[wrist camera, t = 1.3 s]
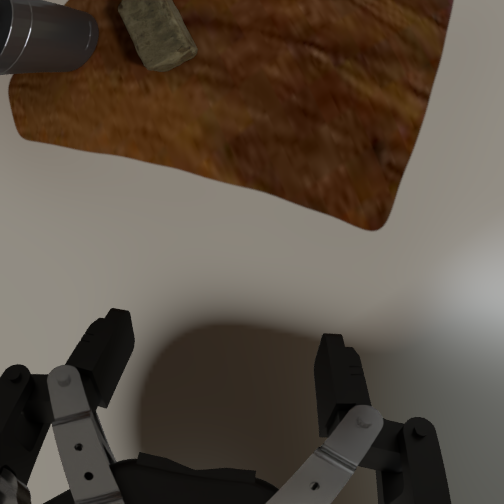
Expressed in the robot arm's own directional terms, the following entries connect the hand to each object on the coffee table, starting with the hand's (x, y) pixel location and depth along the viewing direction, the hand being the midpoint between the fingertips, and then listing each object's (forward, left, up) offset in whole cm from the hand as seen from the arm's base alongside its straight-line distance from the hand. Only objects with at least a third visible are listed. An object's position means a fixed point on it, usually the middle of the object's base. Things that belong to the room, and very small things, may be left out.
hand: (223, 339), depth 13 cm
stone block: (-13, +17, -30) cm, 38 cm away
